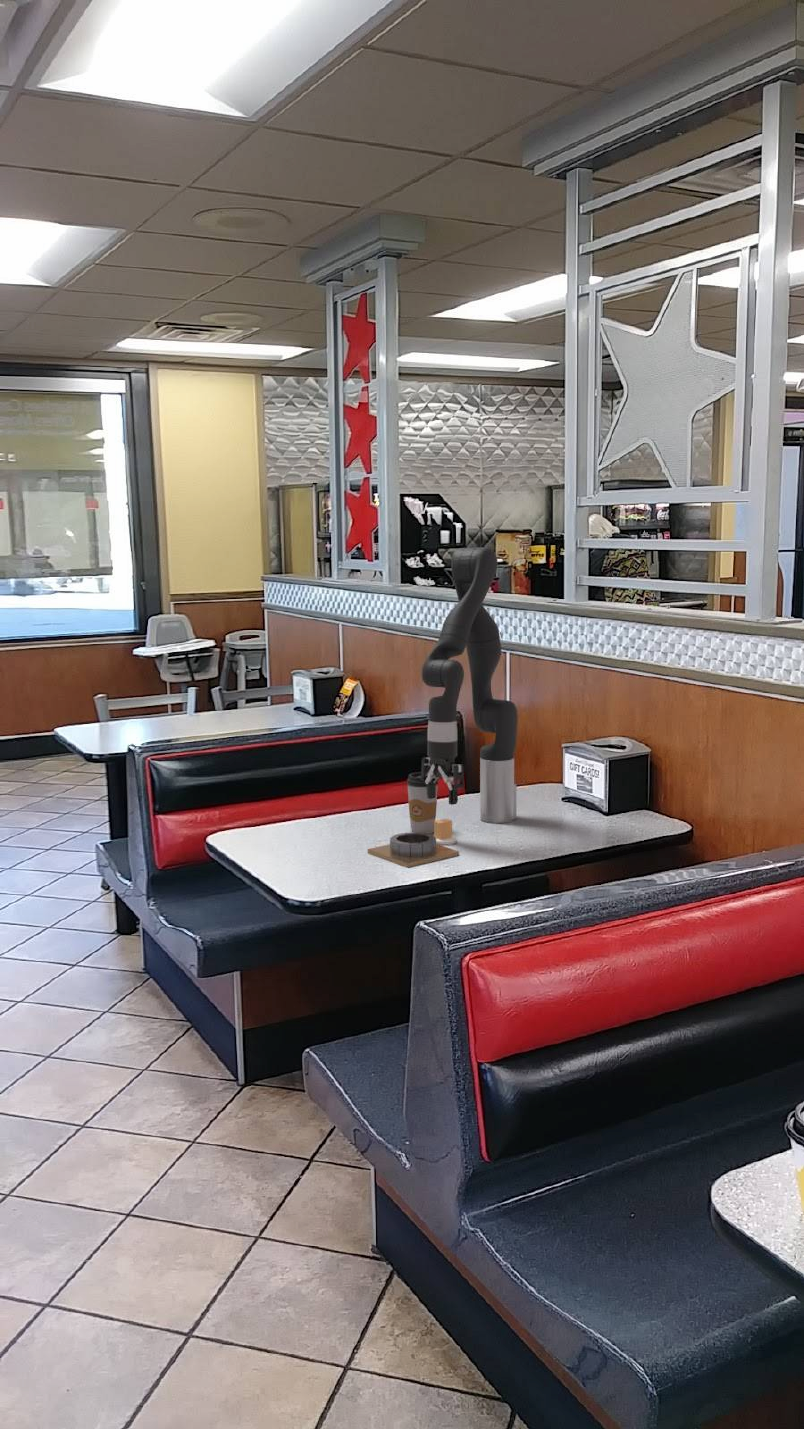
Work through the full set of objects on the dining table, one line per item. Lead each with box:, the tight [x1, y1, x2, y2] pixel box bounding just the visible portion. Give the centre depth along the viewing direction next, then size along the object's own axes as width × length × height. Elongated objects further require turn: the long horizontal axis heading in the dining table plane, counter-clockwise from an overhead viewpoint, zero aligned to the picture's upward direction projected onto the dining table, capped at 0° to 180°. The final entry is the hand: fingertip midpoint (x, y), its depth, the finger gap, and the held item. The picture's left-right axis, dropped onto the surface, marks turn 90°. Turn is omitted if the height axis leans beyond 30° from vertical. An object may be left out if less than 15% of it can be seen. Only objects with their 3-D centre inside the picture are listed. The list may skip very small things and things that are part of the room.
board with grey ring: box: [367, 831, 460, 868], centre depth 274 cm, size 16×16×4 cm
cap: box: [433, 818, 457, 846], centre depth 285 cm, size 6×6×6 cm
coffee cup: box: [406, 771, 439, 834], centre depth 295 cm, size 8×8×15 cm
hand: (442, 801), depth 283 cm, fingers open, 8 cm apart
